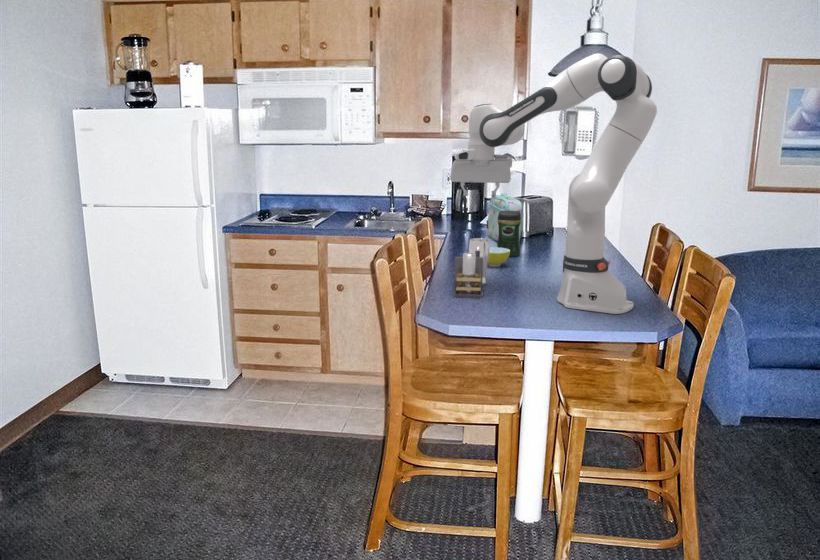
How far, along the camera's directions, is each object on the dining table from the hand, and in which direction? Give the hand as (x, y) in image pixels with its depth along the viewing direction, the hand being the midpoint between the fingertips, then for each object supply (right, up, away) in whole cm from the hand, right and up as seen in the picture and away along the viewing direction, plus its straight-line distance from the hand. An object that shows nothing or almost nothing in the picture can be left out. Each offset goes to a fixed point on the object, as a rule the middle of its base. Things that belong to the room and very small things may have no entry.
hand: (479, 196), depth 219 cm
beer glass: (0, -30, +2) cm, 30 cm away
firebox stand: (-5, -33, -12) cm, 35 cm away
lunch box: (+20, -10, +84) cm, 87 cm away
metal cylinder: (-5, -32, -12) cm, 34 cm away
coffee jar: (+17, -18, +49) cm, 55 cm away
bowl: (+9, -23, +30) cm, 39 cm away
